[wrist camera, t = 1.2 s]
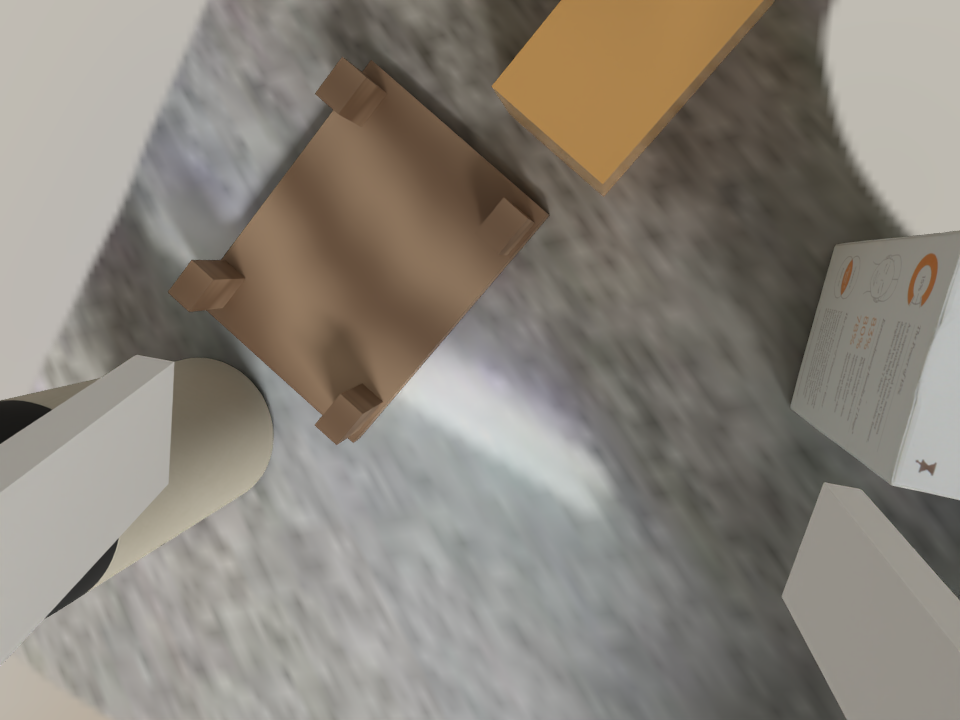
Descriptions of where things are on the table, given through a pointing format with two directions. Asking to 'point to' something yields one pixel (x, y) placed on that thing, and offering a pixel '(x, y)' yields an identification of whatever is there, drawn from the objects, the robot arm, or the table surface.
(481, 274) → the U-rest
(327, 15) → the table surface
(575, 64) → the amber bottle
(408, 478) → the table surface
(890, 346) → the small box
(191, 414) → the travel mug
